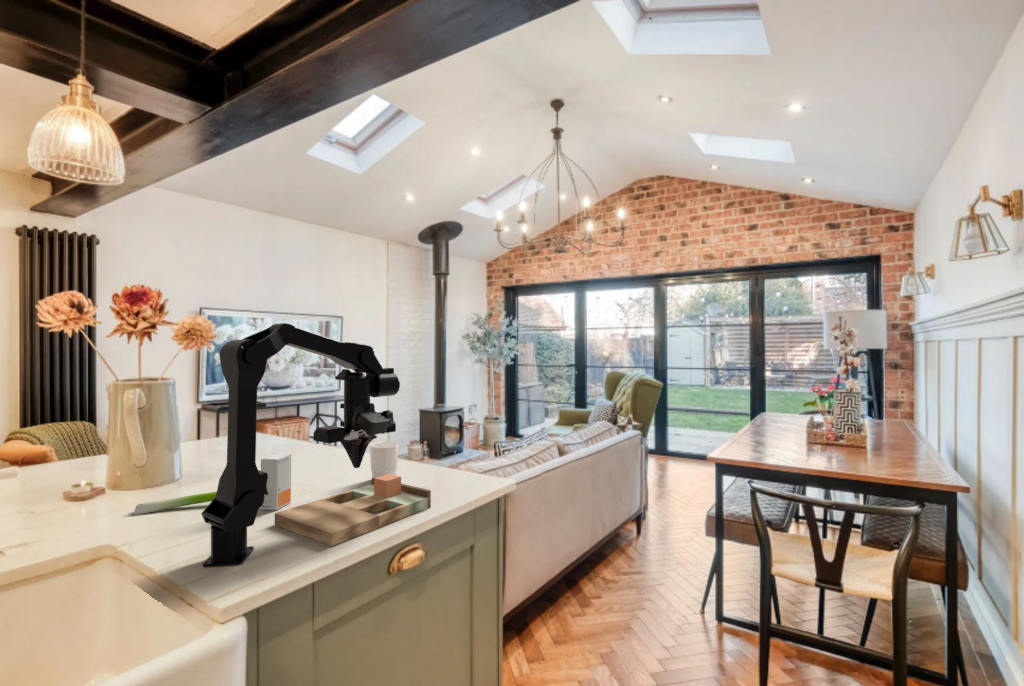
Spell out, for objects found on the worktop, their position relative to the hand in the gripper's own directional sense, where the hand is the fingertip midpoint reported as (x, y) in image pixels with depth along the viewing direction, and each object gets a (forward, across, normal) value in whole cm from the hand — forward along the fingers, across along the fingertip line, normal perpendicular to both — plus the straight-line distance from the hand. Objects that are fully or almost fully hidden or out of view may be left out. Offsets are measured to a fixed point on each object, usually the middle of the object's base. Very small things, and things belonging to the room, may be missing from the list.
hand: (356, 467), depth 111 cm
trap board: (+11, 0, -1) cm, 11 cm away
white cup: (+11, +23, +17) cm, 30 cm away
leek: (+11, -16, +34) cm, 39 cm away
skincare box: (+11, -7, +21) cm, 24 cm away
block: (+8, +9, 0) cm, 12 cm away
